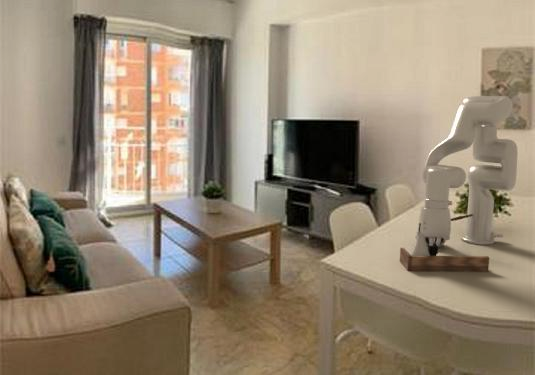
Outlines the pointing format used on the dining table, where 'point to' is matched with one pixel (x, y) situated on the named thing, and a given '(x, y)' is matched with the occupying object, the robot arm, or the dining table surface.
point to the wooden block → (444, 262)
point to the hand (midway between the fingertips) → (432, 255)
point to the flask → (420, 246)
